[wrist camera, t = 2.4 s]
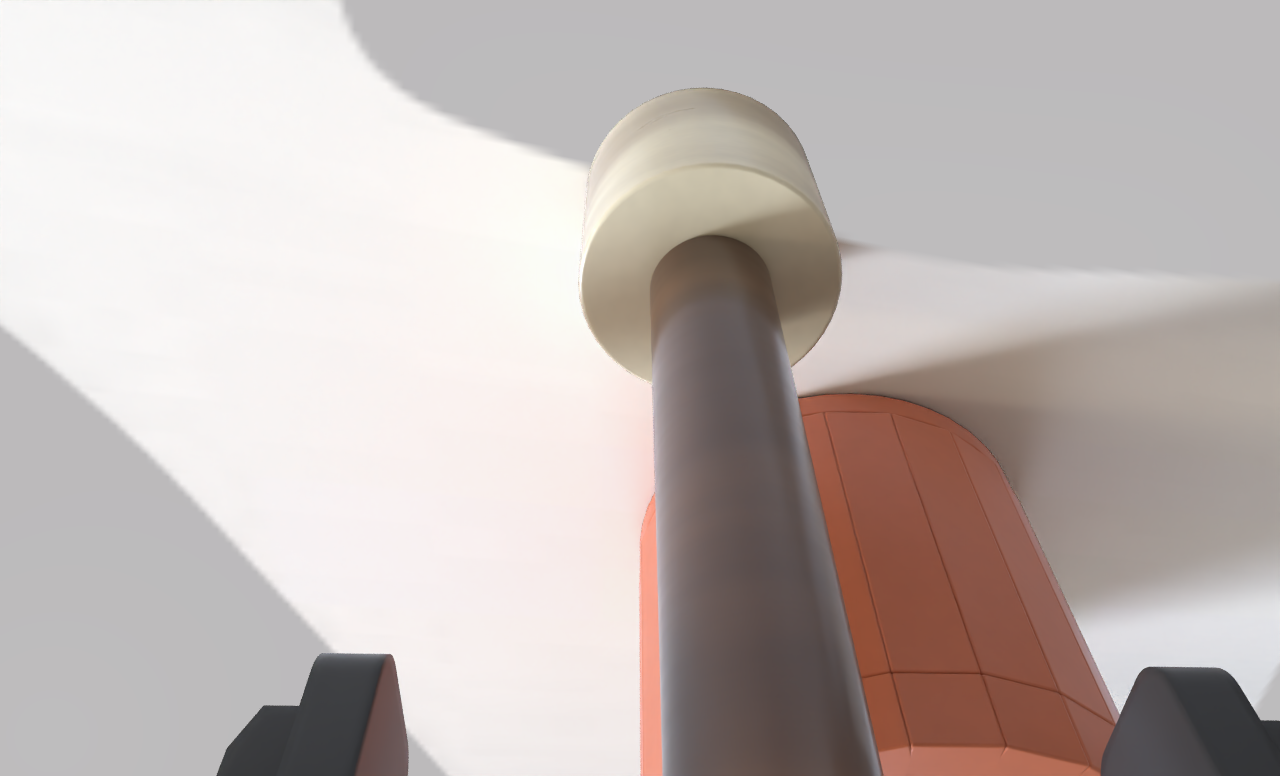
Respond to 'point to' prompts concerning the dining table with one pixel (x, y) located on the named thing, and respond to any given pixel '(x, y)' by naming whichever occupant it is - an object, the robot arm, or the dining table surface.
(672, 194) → the brown rod with cap
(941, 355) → the dining table surface
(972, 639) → the jar
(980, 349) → the dining table surface
